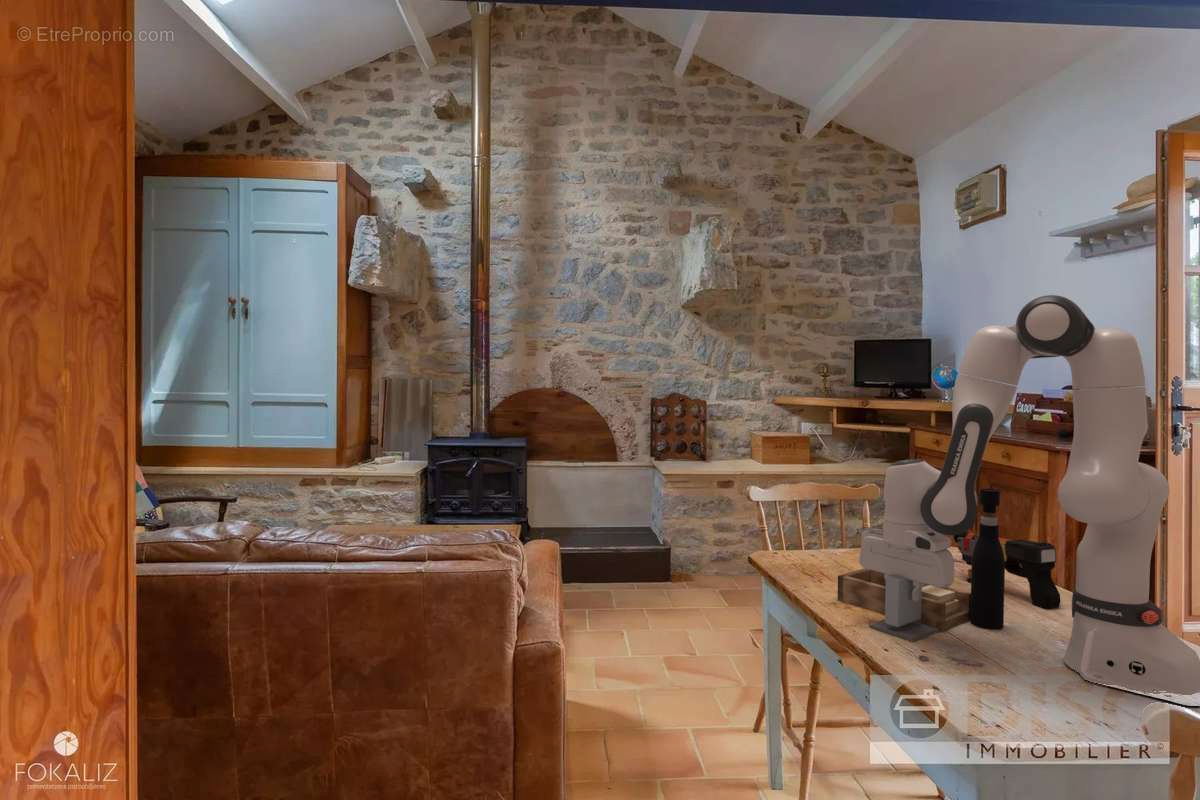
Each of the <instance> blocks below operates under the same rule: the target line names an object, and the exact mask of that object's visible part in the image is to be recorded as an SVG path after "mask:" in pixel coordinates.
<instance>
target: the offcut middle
mask: <svg viewBox="0 0 1200 800" xmlns="http://www.w3.org/2000/svg"><path fill="white" fill-rule="evenodd" d="M958 611H959V600H956V599H955V601H953V602H949V603H946V614H945V617H946V616H948V615H951V614H953V613H956V612H958Z"/></svg>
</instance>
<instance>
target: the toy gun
mask: <svg viewBox="0 0 1200 800" xmlns="http://www.w3.org/2000/svg"><path fill="white" fill-rule="evenodd" d="M952 536H953V541H954V542H955V543H956V544H957V549H958V551H959V552H960V553H961V560H962V561H964V562H965V564H966V565H968V566H971V567H972V555H973V550H974V547H975V544H976V542H977V540H978V537H979V533H974V532H968V531H966V532H964V533H962V534H959V535H952ZM999 541H1000V543H1001V546H1002V549H1003V554H1004V559H1005V571H1007V573H1009V574H1012V575H1015V576H1018V577H1020V578H1024V579H1026V580H1027V581H1028V585H1029V595H1030V599H1031V604H1032V605H1033V606H1034V607H1037V608H1040V609H1044V610H1047V609H1048V610H1049V609H1056V608H1060V605H1061V603H1062V602H1061V594H1060V593H1059V590H1058V588H1057V586H1056V584H1055V583H1054V581H1053V578H1052V570H1054V569H1055V568H1056V563H1057V549H1056V546H1054V545H1053V544H1052V543H1050V542H1044V541H1043V542H1040V541H1039V542H1038V541H1034V540H1027V539H1022V538H1018V539H1007V538H1003V537H999ZM965 580H966V582H968V583H969V584H971V568H969V569H967V578H966V579H965Z"/></svg>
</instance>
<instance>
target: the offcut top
mask: <svg viewBox="0 0 1200 800" xmlns="http://www.w3.org/2000/svg"><path fill="white" fill-rule="evenodd" d="M922 597H926V598H930V599H933V600H937V601H941V602H945V603H949V602H953V601H955V592H953V591H950V590H946V589H942V588H939V587H935V586H931V585H929V586H926V587H923V588H922Z"/></svg>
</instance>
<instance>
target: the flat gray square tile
mask: <svg viewBox="0 0 1200 800" xmlns="http://www.w3.org/2000/svg"><path fill="white" fill-rule="evenodd" d="M868 628H870V629H873V630H875V631H879V632H882V633H884V634H888V635H890V636H893V637H897V638H900V639H904V640H906V641H909V642H915V641H918V640H920V639H923V638H925V637H928V636H930V635H933V634H935V633H937V632H939V631H938V629H937V628H934V627H931V626H927V625H924V624H921V623H917V622H914V621H913V622H910V623H908V624H905V625H902V626H900V627H896V626H893V625H890V624H887V623H885V618H884V619H882V620H879V621H876V622H873V623H870V624H868Z"/></svg>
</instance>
